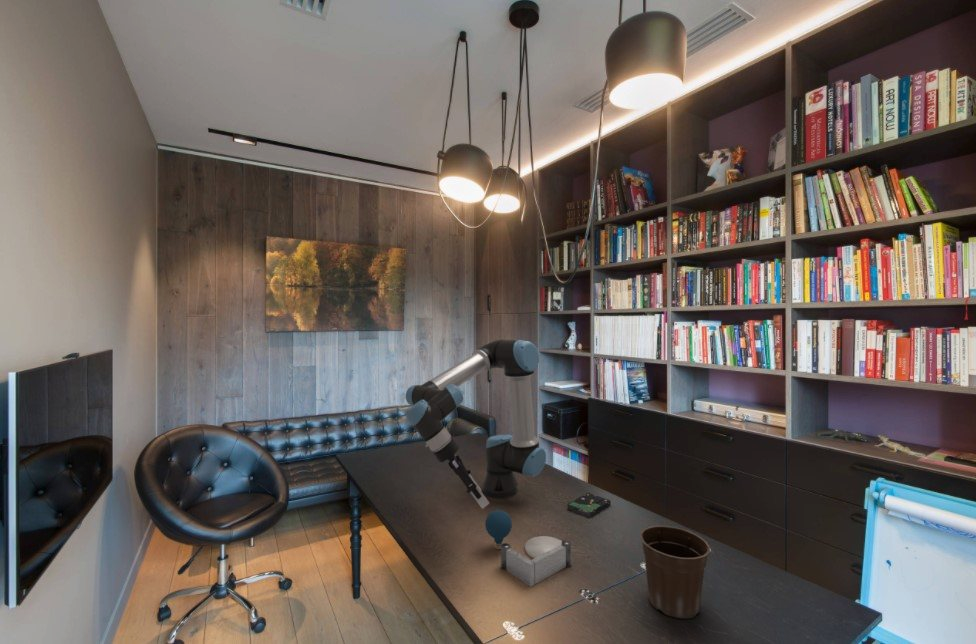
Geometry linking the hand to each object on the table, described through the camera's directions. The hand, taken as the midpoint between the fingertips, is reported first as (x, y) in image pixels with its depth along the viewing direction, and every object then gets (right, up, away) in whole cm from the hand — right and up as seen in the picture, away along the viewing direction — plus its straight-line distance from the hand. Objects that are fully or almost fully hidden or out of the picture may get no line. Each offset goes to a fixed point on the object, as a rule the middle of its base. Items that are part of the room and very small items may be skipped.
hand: (482, 499), depth 134 cm
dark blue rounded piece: (+5, -16, 0) cm, 17 cm away
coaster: (+20, -16, -1) cm, 26 cm away
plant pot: (+50, -16, -26) cm, 58 cm away
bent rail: (+16, -16, -9) cm, 24 cm away
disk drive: (+41, -16, +29) cm, 53 cm away
